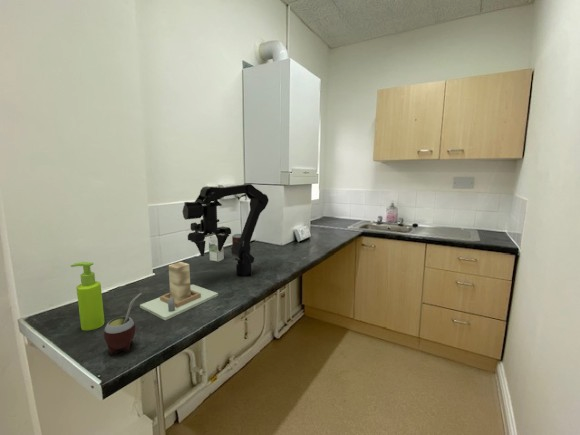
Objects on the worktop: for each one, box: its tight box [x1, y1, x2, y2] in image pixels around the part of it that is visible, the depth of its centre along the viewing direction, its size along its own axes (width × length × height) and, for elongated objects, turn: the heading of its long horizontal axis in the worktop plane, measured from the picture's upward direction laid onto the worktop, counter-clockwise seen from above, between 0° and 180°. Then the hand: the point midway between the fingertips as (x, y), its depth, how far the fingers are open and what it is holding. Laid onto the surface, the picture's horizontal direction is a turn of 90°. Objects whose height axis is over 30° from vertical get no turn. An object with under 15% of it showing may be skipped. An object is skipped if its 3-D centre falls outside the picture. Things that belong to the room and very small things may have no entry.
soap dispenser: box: [70, 261, 105, 332], centre depth 83 cm, size 6×7×20 cm
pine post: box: [168, 261, 191, 302], centre depth 100 cm, size 5×5×13 cm
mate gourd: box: [103, 292, 142, 357], centre depth 73 cm, size 8×8×15 cm
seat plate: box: [139, 284, 219, 321], centre depth 101 cm, size 22×15×5 cm
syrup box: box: [208, 235, 225, 263], centre depth 148 cm, size 6×6×14 cm
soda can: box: [231, 233, 242, 246], centre depth 157 cm, size 7×7×12 cm
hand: (211, 253), depth 117 cm, fingers open, 9 cm apart
